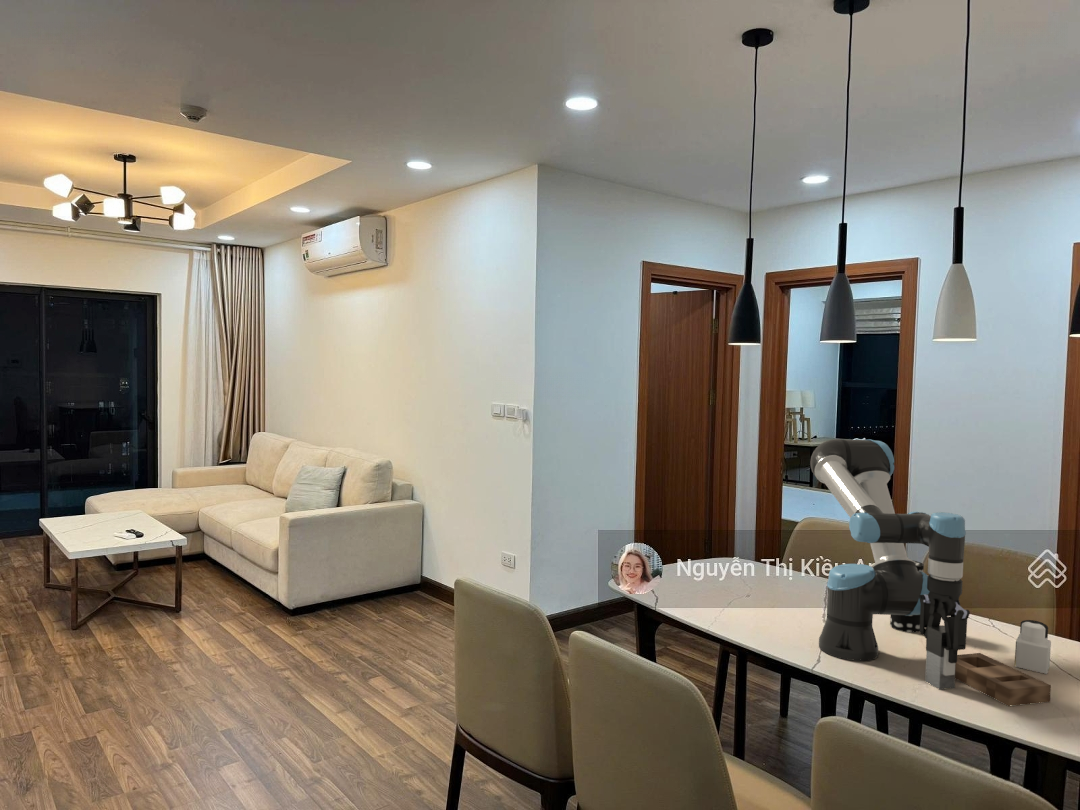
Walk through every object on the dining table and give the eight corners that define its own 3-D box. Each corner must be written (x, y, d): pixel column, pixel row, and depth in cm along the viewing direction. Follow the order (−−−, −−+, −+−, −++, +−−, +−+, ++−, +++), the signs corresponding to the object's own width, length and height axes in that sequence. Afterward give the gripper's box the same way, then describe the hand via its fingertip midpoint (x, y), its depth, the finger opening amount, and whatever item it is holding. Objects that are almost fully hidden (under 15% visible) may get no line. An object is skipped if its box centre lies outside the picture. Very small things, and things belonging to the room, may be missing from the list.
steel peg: (939, 689, 175) (941, 632, 174) (925, 681, 179) (927, 626, 179) (954, 688, 176) (957, 631, 176) (940, 680, 180) (942, 625, 180)
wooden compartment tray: (1008, 706, 167) (1009, 689, 167) (941, 671, 186) (941, 656, 186) (1049, 701, 170) (1050, 685, 170) (979, 667, 189) (980, 652, 189)
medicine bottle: (1017, 659, 196) (1019, 615, 195) (1049, 666, 191) (1052, 622, 191) (1014, 667, 190) (1016, 622, 190) (1047, 674, 186) (1049, 629, 185)
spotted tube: (924, 633, 214) (927, 567, 213) (894, 631, 216) (897, 565, 215) (915, 624, 222) (918, 560, 221) (886, 621, 224) (889, 558, 223)
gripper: (987, 586, 169) (982, 684, 170) (930, 566, 186) (926, 655, 187) (961, 588, 167) (956, 686, 168) (905, 567, 184) (901, 657, 185)
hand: (940, 670), depth 178 cm, fingers closed on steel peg, 4 cm apart
